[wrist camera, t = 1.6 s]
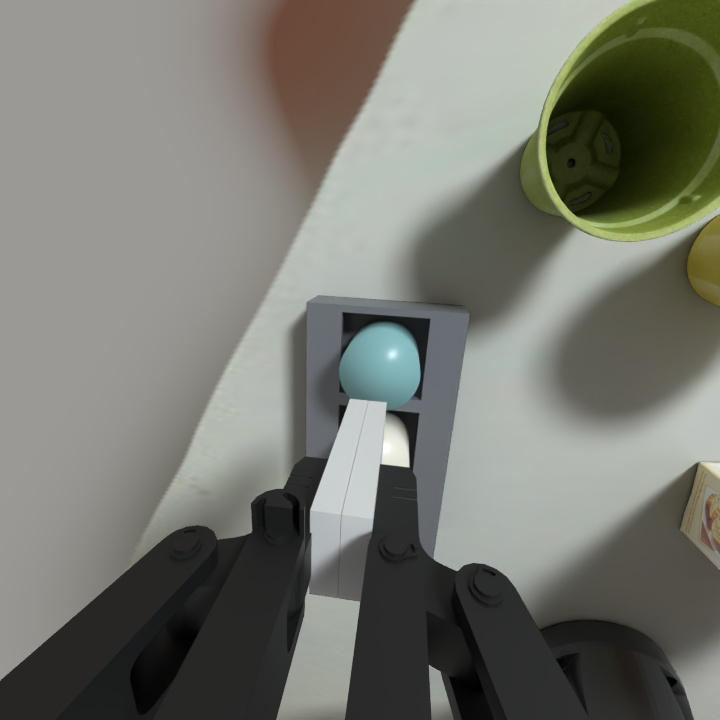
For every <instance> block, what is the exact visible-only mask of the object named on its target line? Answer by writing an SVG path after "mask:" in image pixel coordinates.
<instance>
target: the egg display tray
mask: <svg viewBox="0 0 720 720" xmlns="http://www.w3.org/2000/svg"><path fill="white" fill-rule="evenodd" d="M469 317H470V314H469V313H468V312H467V310H466V309H465V308H464V307H463V306H461V305H447V304H433V303H419V302H405V301H390V300H376V299H362V298H348V297H334V296H320V295H318V296H317V297H315V298H313V299H311V300H310V301H308V302H307V334H306V456H307V457H315V458H324V459H329V456H330V454H331V451H332V448H333V445H334V442H335V440H336V437H337V434H338V431H339V428H340V426H341V423H342V420H343V417H344V414H345V412H346V409H347V406H348V403H349V400H350V399H351V398H350V397H349V396H348V395H347V394H346V392H345V391H344V389H343V387H342V385H341V381H340V377H339V366H340V362H341V359H342V356H343V354H344V353H345V351H346V349H347V347H348V346H349V344H350V342H351V340H352V339H353V337H354V335H355V334H356V332H357V331H358V330H359V329H360V328H361V327H363V326H364V325H366V324H367V323H369V322H372V321H376V320H391V321H395V322H397V323H400V324H401V325H403V326H404V327H406V328H407V329H408V330H409V331H410V332H411V334H412V335H413V336H414V338H415V340H416V343H417V347H418V355H419V364H420V382H419V385H418V388H417V390H416V392H415V393H414V395H413V396H412V397H411V398H410V400H408V401H407V402H406V403H405V404H403V405H402V406H400V407H398V408H395V409H392V410H387V411H389V412H391V413H393V414H395V415H396V416H398V417H399V418H400V419H401V420H402V421H403V423H404V424H405V426H406V428H407V430H408V434H409V467H410V469H411V470H412V472H413V473H414V475H415V476H416V479H417V501H418V523H419V539H420V543H421V545H422V547H423V549H424V550H425V552H426V553H427V554H428V555H429V556H430V557H431V558H432V559H433V556H434V549H435V543H436V536H437V529H438V523H439V516H440V509H441V503H442V496H443V489H444V483H445V476H446V470H447V463H448V456H449V450H450V443H451V436H452V430H453V423H454V416H455V410H456V403H457V396H458V390H459V383H460V376H461V370H462V363H463V357H464V350H465V343H466V337H467V330H468V323H469Z"/></svg>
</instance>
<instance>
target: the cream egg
mask: <svg viewBox="0 0 720 720" xmlns="http://www.w3.org/2000/svg"><path fill="white" fill-rule="evenodd" d="M382 464H384V465H393V466H401V467H409V434H408V430H407V428H406V426H405V424H404V423H403V421H402V420H401V419H400V418H399V417H398V416H396V415H395V414H393V413H391V412H389V411H386V418H385V430H384V442H383V454H382Z"/></svg>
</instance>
